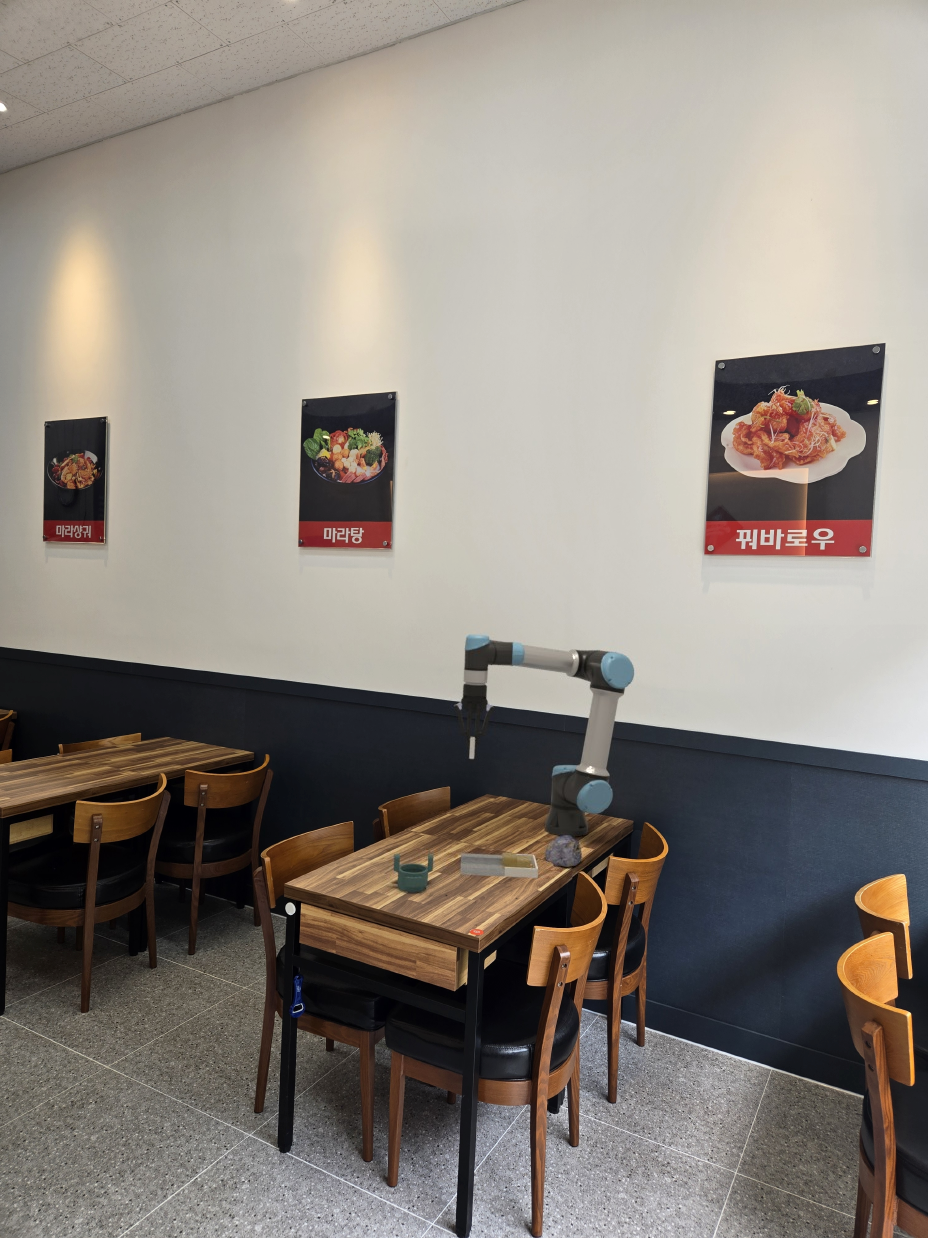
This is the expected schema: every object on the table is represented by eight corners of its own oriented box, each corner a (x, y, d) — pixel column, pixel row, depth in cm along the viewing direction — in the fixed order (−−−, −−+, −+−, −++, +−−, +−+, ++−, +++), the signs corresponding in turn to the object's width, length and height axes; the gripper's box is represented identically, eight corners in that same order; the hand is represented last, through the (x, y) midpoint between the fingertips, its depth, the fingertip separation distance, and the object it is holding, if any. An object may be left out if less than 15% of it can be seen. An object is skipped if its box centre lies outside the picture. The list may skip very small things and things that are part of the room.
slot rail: (502, 865, 235) (502, 855, 235) (504, 880, 222) (504, 869, 222) (460, 863, 235) (461, 853, 235) (460, 877, 222) (460, 867, 222)
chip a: (528, 870, 230) (529, 856, 230) (530, 874, 226) (530, 861, 226) (515, 869, 230) (516, 855, 230) (516, 874, 226) (516, 860, 226)
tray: (533, 866, 235) (534, 855, 235) (537, 881, 222) (538, 869, 222) (502, 865, 235) (502, 853, 235) (504, 880, 222) (504, 867, 222)
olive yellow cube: (515, 866, 230) (516, 853, 230) (516, 871, 226) (516, 857, 226) (501, 866, 230) (502, 852, 230) (502, 870, 226) (503, 857, 226)
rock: (585, 852, 243) (576, 827, 239) (579, 876, 235) (570, 851, 231) (553, 853, 248) (544, 828, 244) (545, 877, 239) (536, 852, 235)
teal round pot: (389, 886, 212) (391, 854, 212) (414, 879, 219) (415, 847, 219) (412, 896, 206) (413, 863, 206) (436, 888, 213) (438, 855, 212)
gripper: (495, 683, 250) (491, 756, 251) (454, 681, 250) (451, 754, 251) (496, 685, 243) (492, 761, 243) (454, 683, 243) (450, 759, 243)
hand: (471, 758), depth 247 cm, fingers closed
